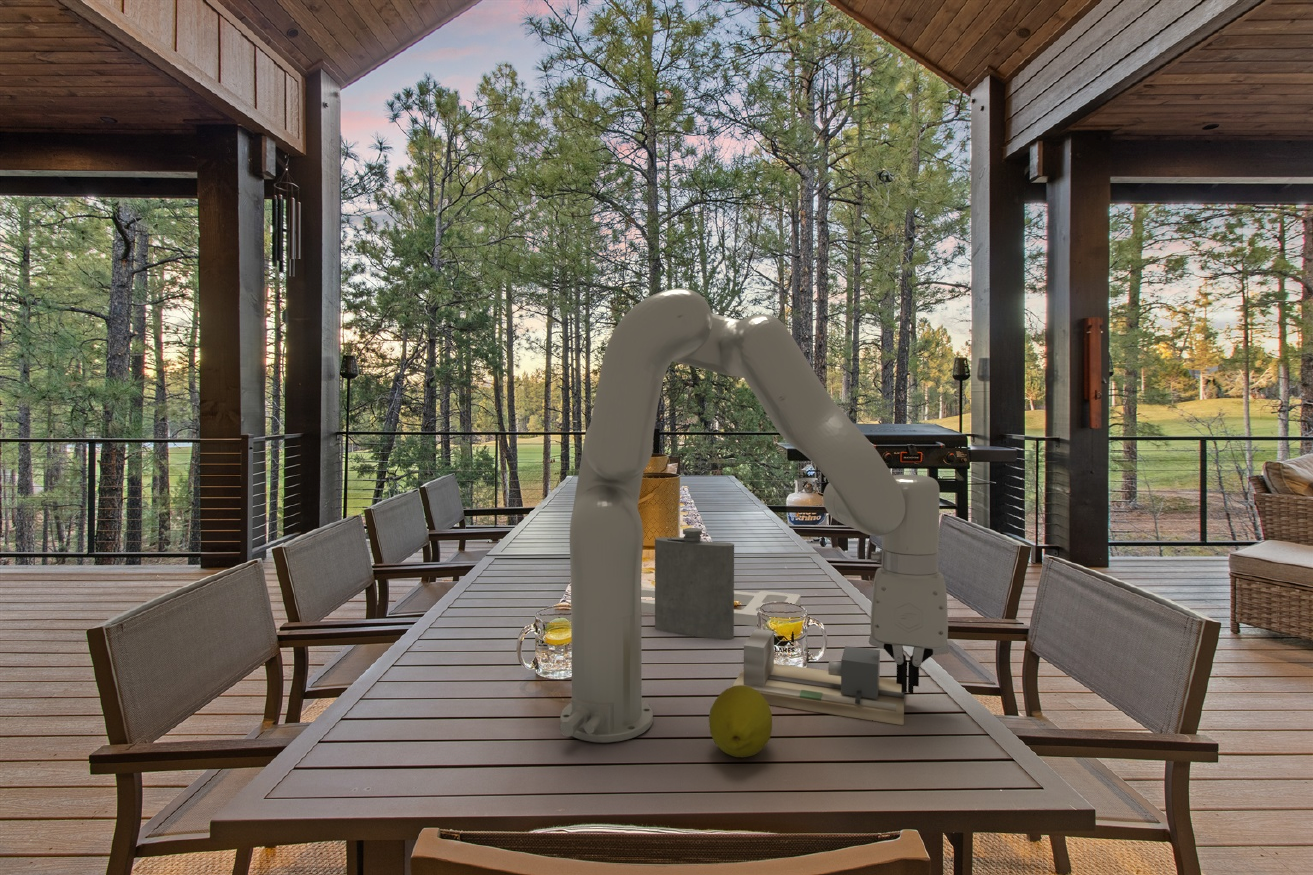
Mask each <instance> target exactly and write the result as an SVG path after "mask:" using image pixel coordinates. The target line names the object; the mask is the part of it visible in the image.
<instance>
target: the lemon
mask: <svg viewBox="0 0 1313 875" xmlns="http://www.w3.org/2000/svg"><path fill="white" fill-rule="evenodd" d="M708 727H709V731H710V734H711V737H712V740H713V741H714V743H715V745H716V747H718V749H719V750H720V751H722V752H724V753H725V754H727V755H728V756H729V755H730V756H731V757H736V758H749V757H752V756H754V755H755V756H756V754H758V753H760V752H761V751H762V750H763V749H764V748H765V746H766V745H767V744H768V742H770V739H771V734H772V730H773V714H772V709H771V707H770V705H769V704H768V702H767V701H766V700H765V698H764V697H763V696H762V695H761V694H760V693H759V692H758V691H756V690H755V689H753V688H750V687H748V686H743V685H739V686H733V687H732V686H730V687H728V688H726V689H725V690H724V691H722V692H721V693H720V694H718V696H717V698H716V699H715V700H714V701H713V703H712V705H711V707H710V710H709V716H708Z"/></svg>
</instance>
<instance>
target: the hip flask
mask: <svg viewBox="0 0 1313 875" xmlns="http://www.w3.org/2000/svg"><path fill="white" fill-rule="evenodd" d="M682 534H683V535H684V536H683V537H682V536H681V537H679V536H677V537H676V536H675V537H674V536H671V537H667V536H662V537H656V538H654V588H655V614H654V628H655V629H656V630H657V631H661V632H667V633H670V634H676V635H682V636H689V637H694V636H695V637H694V638H704V639H712V640H713V639H714V640H724V641H725V640H732V639H734V638H735V624H734V609H735V603H734V591H735V544H734V543H733V542H721V541H720V542H719V541H704V540H701V539H702V538H701V537H702V536H701V535H702V534H703V529H701V528H696V527H695V528H694V527H687V528H683V529H682Z"/></svg>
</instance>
